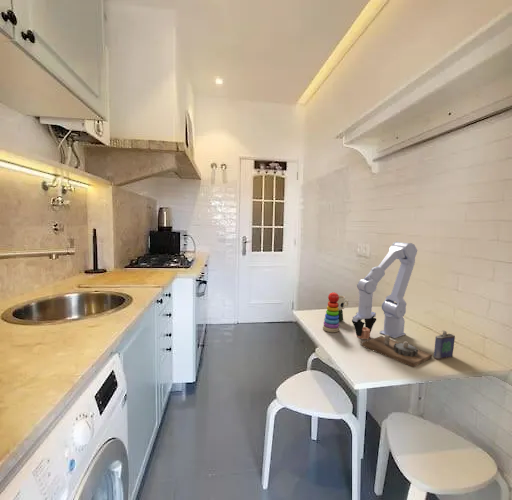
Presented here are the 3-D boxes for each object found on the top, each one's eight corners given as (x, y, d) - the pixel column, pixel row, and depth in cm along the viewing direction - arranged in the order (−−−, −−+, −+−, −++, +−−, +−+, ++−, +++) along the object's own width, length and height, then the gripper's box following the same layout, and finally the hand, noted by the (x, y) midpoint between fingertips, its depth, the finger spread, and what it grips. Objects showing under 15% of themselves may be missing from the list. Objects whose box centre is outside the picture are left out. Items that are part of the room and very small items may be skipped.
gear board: (381, 339, 138) (382, 327, 137) (431, 358, 120) (432, 344, 119) (362, 345, 130) (363, 333, 129) (413, 367, 112) (414, 353, 111)
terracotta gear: (361, 333, 144) (362, 325, 143) (372, 337, 139) (372, 329, 139) (354, 336, 140) (354, 327, 140) (364, 340, 136) (365, 331, 135)
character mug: (328, 322, 159) (329, 298, 157) (325, 317, 166) (326, 294, 164) (349, 322, 158) (350, 298, 157) (345, 318, 165) (346, 295, 164)
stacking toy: (322, 331, 145) (324, 293, 143) (322, 326, 152) (324, 289, 150) (339, 333, 143) (341, 295, 141) (339, 328, 151) (341, 291, 149)
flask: (437, 360, 118) (440, 333, 117) (431, 357, 121) (433, 331, 120) (454, 357, 121) (457, 331, 120) (447, 354, 124) (450, 328, 123)
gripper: (367, 301, 145) (365, 328, 147) (347, 305, 137) (346, 334, 139) (380, 304, 140) (378, 333, 141) (361, 309, 131) (359, 339, 133)
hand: (363, 334), depth 139 cm, fingers open, 6 cm apart
